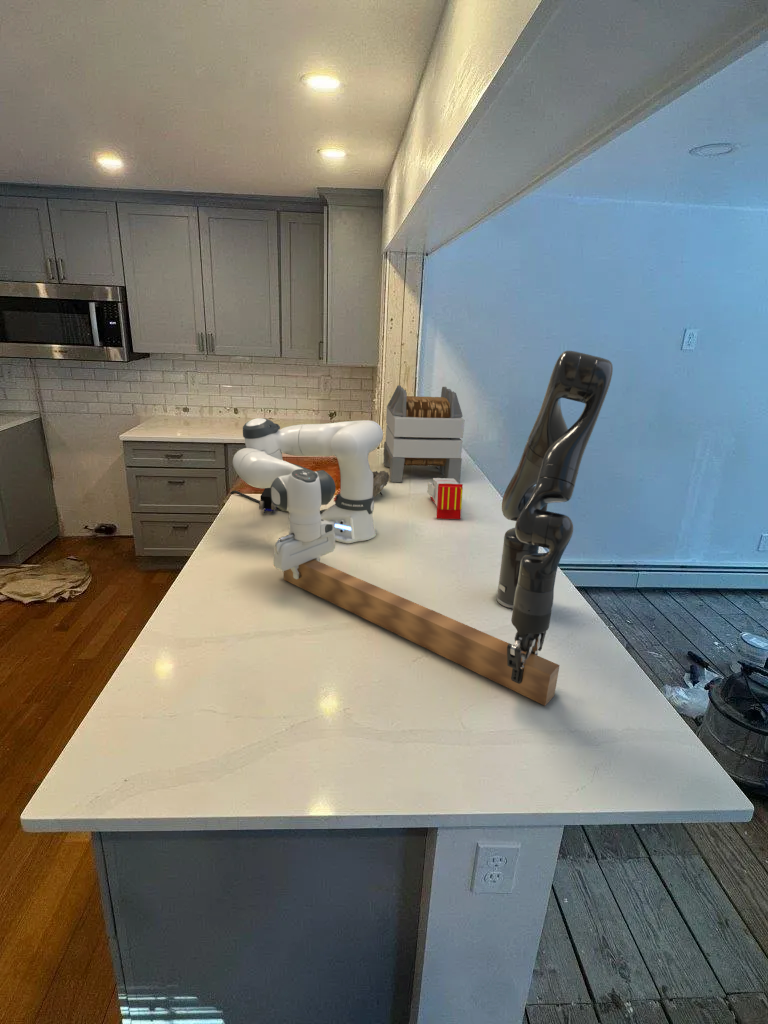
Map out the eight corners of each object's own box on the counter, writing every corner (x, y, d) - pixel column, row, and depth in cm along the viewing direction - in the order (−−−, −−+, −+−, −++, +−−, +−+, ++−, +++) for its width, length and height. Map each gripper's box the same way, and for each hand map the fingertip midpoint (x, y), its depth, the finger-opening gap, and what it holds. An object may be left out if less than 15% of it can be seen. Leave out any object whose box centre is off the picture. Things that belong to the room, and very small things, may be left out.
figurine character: (276, 519, 211) (282, 502, 225) (275, 501, 208) (281, 484, 221) (258, 519, 211) (265, 501, 225) (257, 500, 208) (264, 484, 221)
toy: (455, 474, 240) (467, 485, 211) (453, 505, 243) (464, 520, 214) (426, 473, 240) (434, 484, 211) (425, 504, 243) (432, 519, 213)
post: (283, 579, 163) (283, 555, 161) (295, 574, 166) (295, 551, 164) (545, 706, 115) (550, 674, 113) (554, 695, 119) (559, 665, 116)
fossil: (358, 476, 249) (385, 458, 244) (371, 493, 252) (398, 475, 247) (350, 497, 229) (380, 477, 224) (365, 515, 232) (394, 496, 227)
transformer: (382, 463, 289) (386, 382, 275) (445, 464, 293) (451, 384, 279) (390, 482, 257) (394, 392, 243) (460, 483, 261) (468, 394, 247)
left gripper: (283, 542, 146) (284, 590, 150) (339, 522, 161) (338, 567, 165) (267, 535, 149) (268, 583, 154) (323, 517, 164) (323, 560, 169)
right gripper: (533, 625, 107) (522, 700, 113) (565, 598, 117) (553, 668, 123) (498, 611, 111) (489, 683, 117) (531, 586, 122) (521, 654, 127)
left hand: (305, 574), depth 160 cm, fingers closed on post, 4 cm apart
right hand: (522, 675), depth 120 cm, fingers closed on post, 4 cm apart
